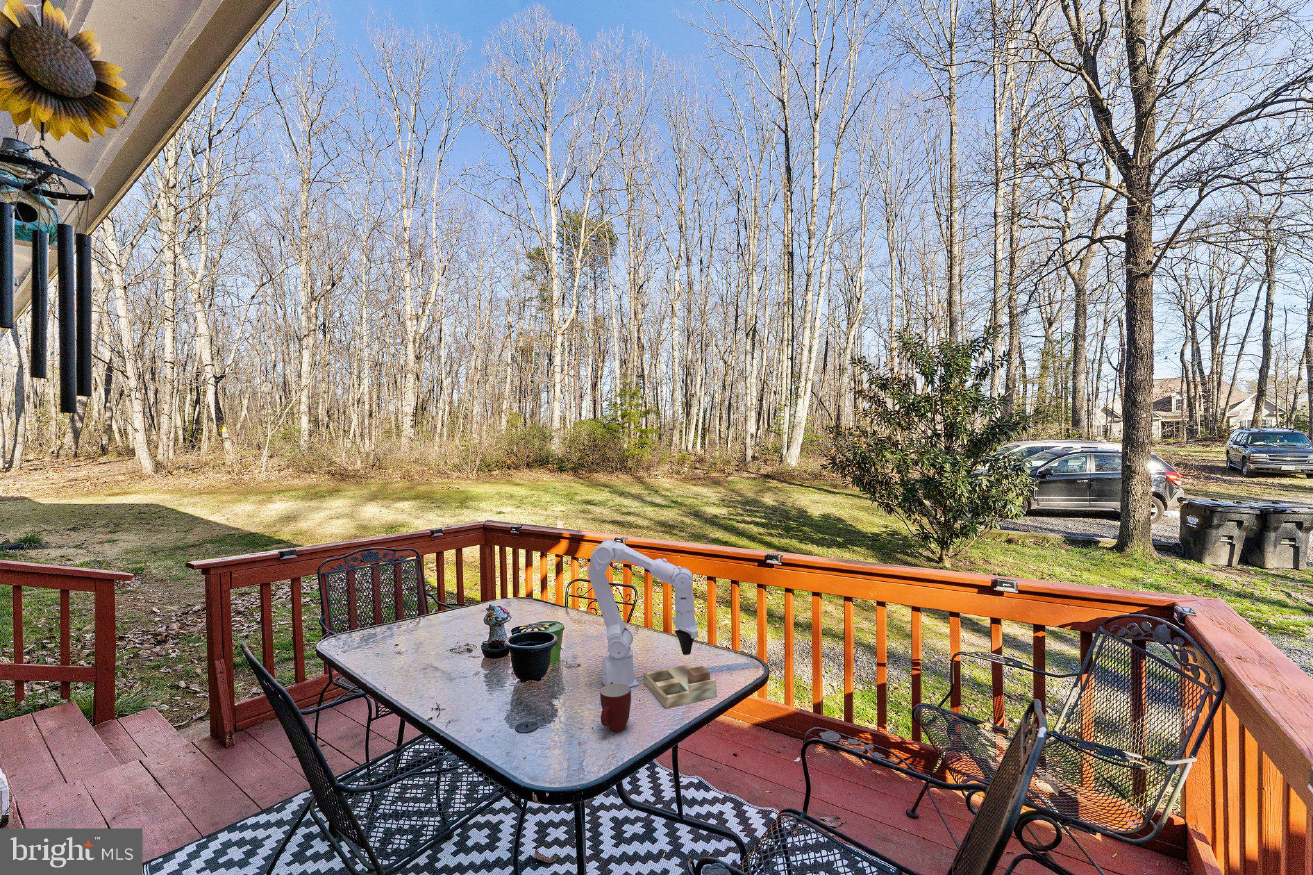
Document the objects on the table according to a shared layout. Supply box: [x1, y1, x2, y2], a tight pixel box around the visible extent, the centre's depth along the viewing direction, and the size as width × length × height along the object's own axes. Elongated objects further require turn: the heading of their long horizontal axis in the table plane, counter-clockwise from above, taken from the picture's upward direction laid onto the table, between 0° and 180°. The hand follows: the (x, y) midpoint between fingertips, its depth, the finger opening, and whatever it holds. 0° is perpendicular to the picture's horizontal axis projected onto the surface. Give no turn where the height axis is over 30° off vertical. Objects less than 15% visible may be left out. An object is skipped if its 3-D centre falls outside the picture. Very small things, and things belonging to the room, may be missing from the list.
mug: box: [599, 683, 632, 732], centre depth 148 cm, size 10×8×10 cm
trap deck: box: [643, 663, 718, 710], centre depth 169 cm, size 16×18×5 cm
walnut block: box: [687, 665, 711, 684], centre depth 166 cm, size 5×5×4 cm
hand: (686, 654), depth 173 cm, fingers closed
